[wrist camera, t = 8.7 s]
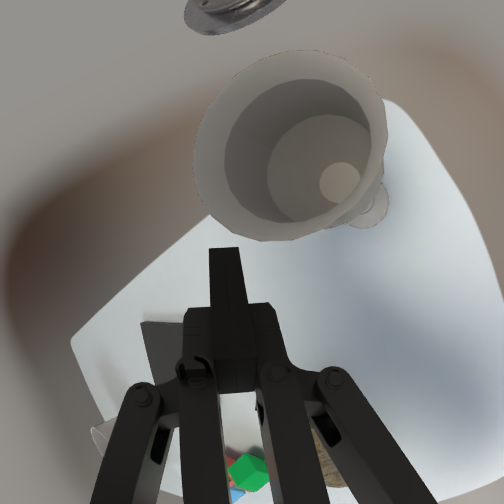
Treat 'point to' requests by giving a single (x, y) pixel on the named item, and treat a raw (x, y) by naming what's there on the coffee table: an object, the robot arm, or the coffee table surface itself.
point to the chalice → (293, 148)
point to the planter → (103, 434)
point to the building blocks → (246, 475)
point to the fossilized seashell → (327, 465)
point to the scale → (163, 348)
